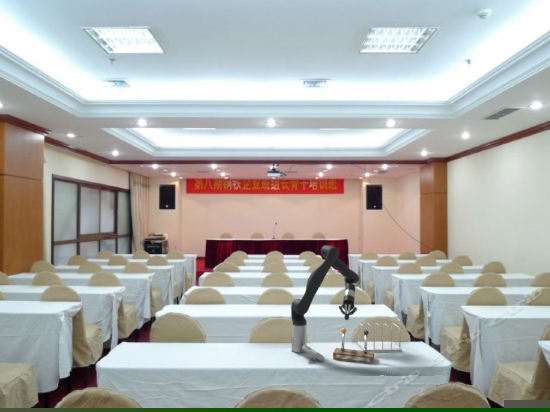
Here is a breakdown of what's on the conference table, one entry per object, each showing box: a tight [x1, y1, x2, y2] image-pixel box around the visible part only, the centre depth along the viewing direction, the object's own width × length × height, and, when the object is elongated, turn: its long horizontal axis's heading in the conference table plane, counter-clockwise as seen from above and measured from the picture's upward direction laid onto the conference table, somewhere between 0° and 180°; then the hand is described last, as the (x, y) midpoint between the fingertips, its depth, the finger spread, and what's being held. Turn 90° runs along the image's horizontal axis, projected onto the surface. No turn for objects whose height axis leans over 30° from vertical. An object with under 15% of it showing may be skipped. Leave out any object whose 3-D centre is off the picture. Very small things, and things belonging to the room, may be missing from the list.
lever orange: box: [341, 327, 347, 351], centre depth 259 cm, size 3×3×14 cm
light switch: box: [302, 344, 325, 363], centre depth 252 cm, size 8×6×14 cm
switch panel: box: [332, 347, 375, 365], centre depth 253 cm, size 24×10×5 cm, turn 71°
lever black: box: [363, 329, 370, 353], centre depth 254 cm, size 3×3×14 cm
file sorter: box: [357, 322, 403, 353], centre depth 275 cm, size 25×17×16 cm
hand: (346, 319), depth 272 cm, fingers closed
